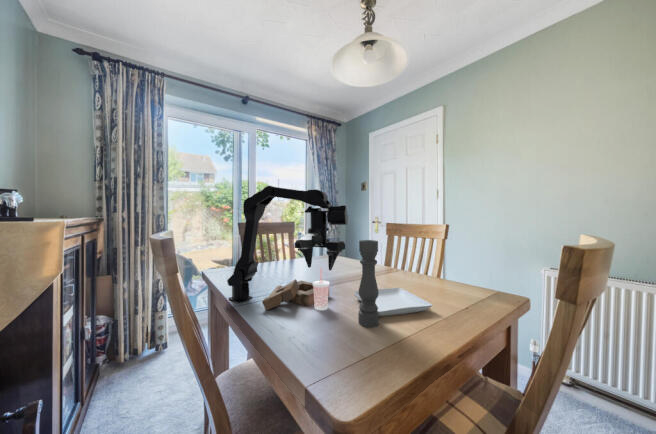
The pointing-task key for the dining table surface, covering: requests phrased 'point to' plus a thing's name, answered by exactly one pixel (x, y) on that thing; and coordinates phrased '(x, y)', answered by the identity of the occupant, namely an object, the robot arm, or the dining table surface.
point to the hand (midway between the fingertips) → (319, 268)
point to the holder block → (304, 293)
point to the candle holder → (368, 284)
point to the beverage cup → (321, 293)
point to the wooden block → (281, 295)
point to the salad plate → (397, 302)
